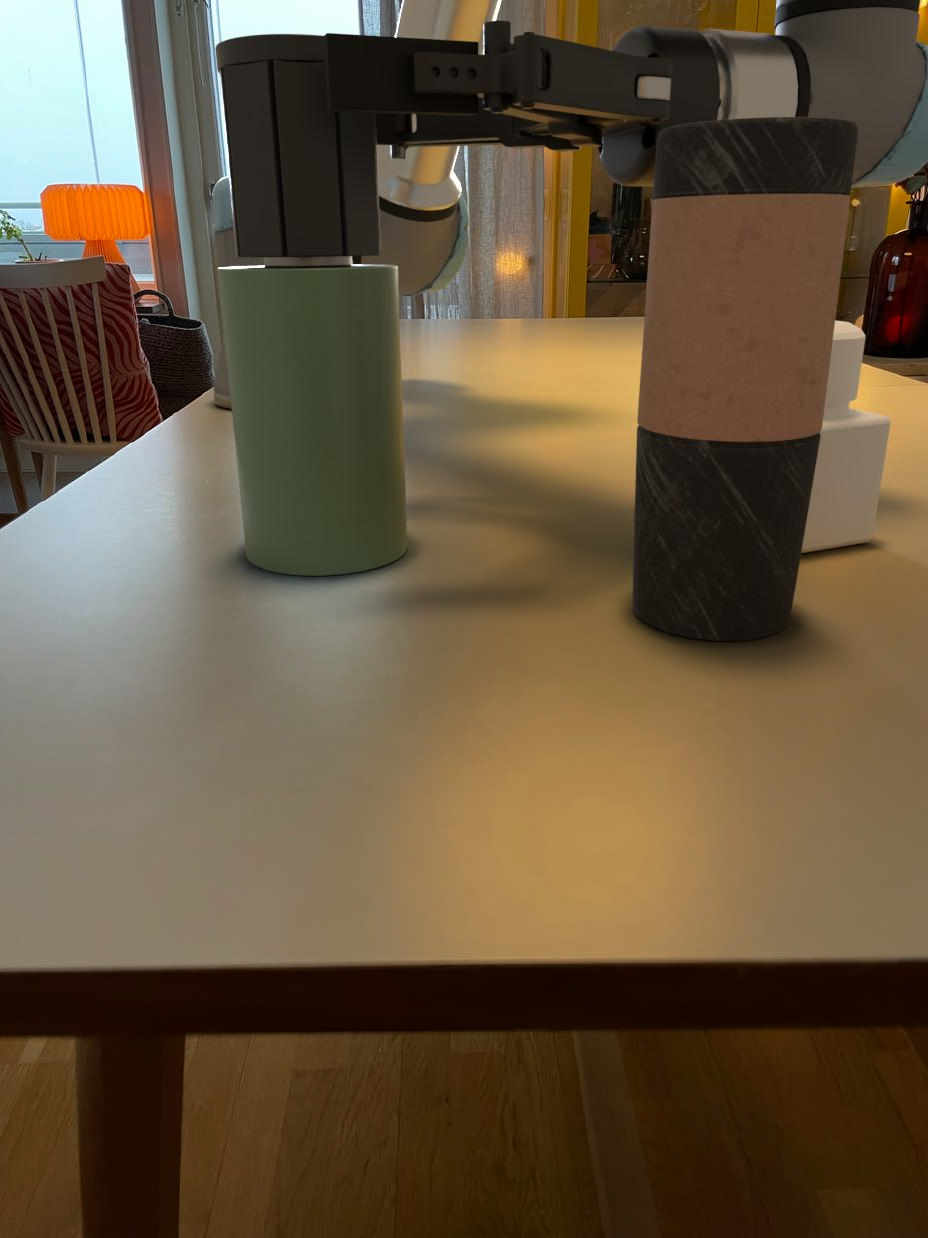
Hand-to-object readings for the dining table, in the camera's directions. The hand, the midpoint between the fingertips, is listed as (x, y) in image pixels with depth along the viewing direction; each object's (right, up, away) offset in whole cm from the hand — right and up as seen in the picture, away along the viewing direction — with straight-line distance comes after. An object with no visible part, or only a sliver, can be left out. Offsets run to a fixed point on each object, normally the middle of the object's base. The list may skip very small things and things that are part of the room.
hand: (297, 95), depth 44 cm
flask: (0, -21, +8) cm, 23 cm away
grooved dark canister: (0, -7, +3) cm, 7 cm away
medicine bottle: (+27, -20, +10) cm, 35 cm away
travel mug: (+19, -25, -1) cm, 31 cm away
